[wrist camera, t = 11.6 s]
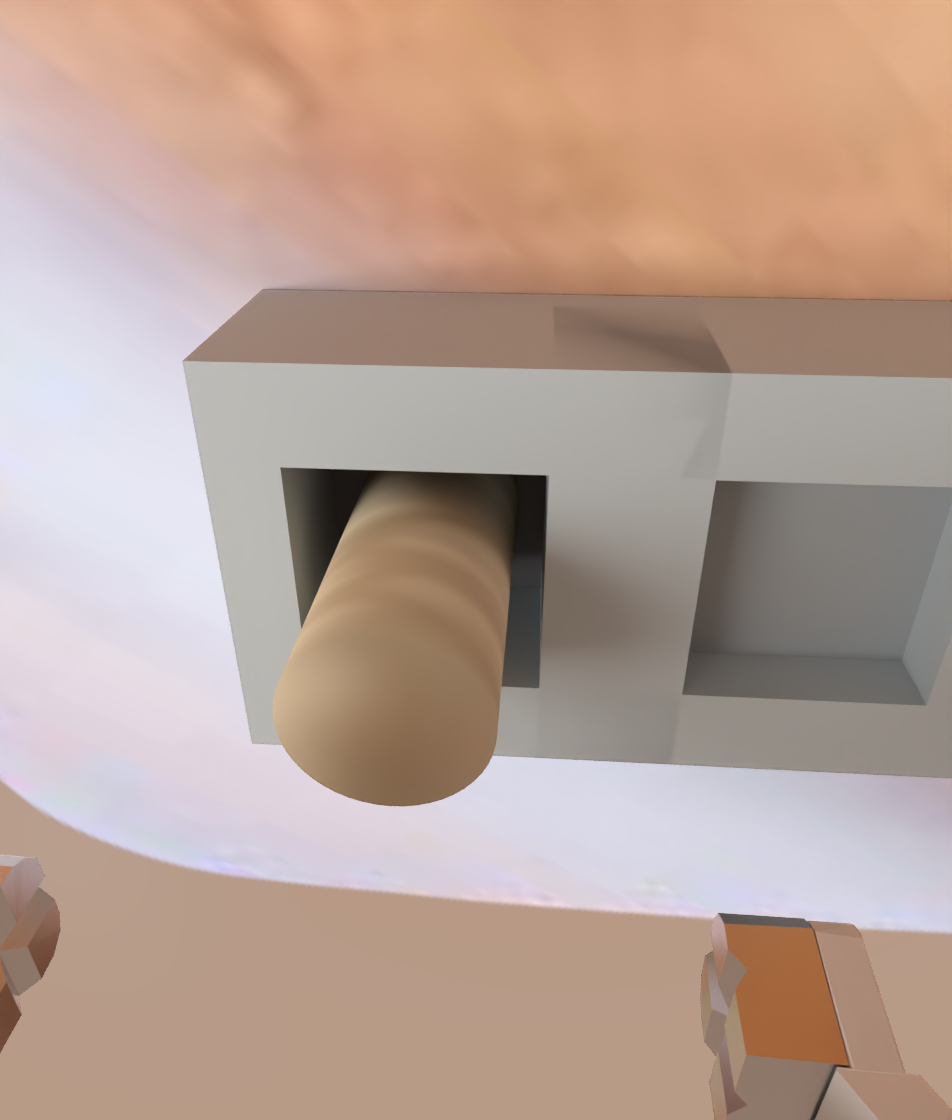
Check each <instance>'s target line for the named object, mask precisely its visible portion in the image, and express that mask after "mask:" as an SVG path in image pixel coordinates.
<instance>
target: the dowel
mask: <svg viewBox="0 0 952 1120" xmlns="http://www.w3.org/2000/svg"><path fill="white" fill-rule="evenodd" d="M517 508H518V488H517V483H516V480H515V477H514V474H485V473H451V472H417V471H384V470H370V472H369V474H368V477H367V479H366V481H365V484H364V486H363V488H362V491H361V493H360V495H359V498H358V500H357V502H356V504H355V507H354V509H353V511H352V514H351V516H350V518H349V521H348V523H347V525H346V527H345V530H344V532H343V534H342V537H341V539H340V541H339V544H338V546H337V548H336V551H335V553H334V555H333V557H332V560H331V562H330V564H329V567H328V569H327V571H326V574H325V576H324V578H323V581H322V583H321V585H320V587H319V590H318V592H317V594H316V597H315V599H314V601H313V604H312V606H311V608H310V611H309V613H308V615H307V617H306V620H305V622H304V624H303V627H302V629H301V631H300V634H299V636H298V638H297V640H296V643H295V645H294V647H293V650H292V652H291V654H290V657H289V659H288V661H287V664H286V666H285V668H284V670H283V673H282V675H281V677H280V680H279V682H278V684H277V687H276V690H275V694H274V698H273V707H272V709H273V720H274V725H275V729H276V732H277V734H278V737H279V739H280V742H281V743H282V745H283V747H284V748H285V750H286V752H287V753H288V754H289V756H290V757H291V758H292V760H293V761H294V762H295V763H296V764H297V765H298V766H299V767H300V768H301V769H302V770H303V771H304V772H305V773H307V774H308V775H309V776H310V777H312V778H313V779H314V780H316V781H317V782H319V783H320V784H322V785H323V786H325V787H327V788H329V789H331V790H333V791H335V792H337V793H339V794H342V795H344V796H347V797H349V798H352V799H356V800H359V801H362V802H367V803H372V804H377V805H386V806H413V805H421V804H426V803H431V802H435V801H438V800H441V799H444V798H446V797H449V796H451V795H454V794H455V793H457V792H459V791H461V790H462V789H464V788H466V787H467V786H468V785H470V784H471V783H472V782H473V781H474V780H475V779H476V778H477V777H478V776H479V775H480V774H481V773H482V772H483V771H484V769H485V768H486V766H487V765H488V763H489V761H490V759H491V757H492V755H493V753H494V749H495V746H496V740H497V730H498V719H499V708H500V697H501V686H502V675H503V664H504V653H505V642H506V630H507V619H508V608H509V597H510V586H511V575H512V564H513V553H514V542H515V530H516V519H517Z"/></svg>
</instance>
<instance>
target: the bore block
mask: <svg viewBox="0 0 952 1120" xmlns="http://www.w3.org/2000/svg"><path fill="white" fill-rule="evenodd" d="M183 366H184V372H185V377H186V383H187V388H188V394H189V399H190V405H191V410H192V416H193V421H194V427H195V432H196V438H197V443H198V449H199V454H200V460H201V465H202V471H203V476H204V482H205V487H206V493H207V498H208V504H209V509H210V515H211V520H212V526H213V531H214V537H215V542H216V548H217V553H218V559H219V564H220V570H221V575H222V581H223V587H224V592H225V598H226V603H227V609H228V614H229V620H230V625H231V631H232V636H233V642H234V647H235V653H236V658H237V664H238V669H239V675H240V680H241V686H242V691H243V697H244V702H245V708H246V713H247V719H248V724H249V730H250V735H251V741H252V744H272V745H282V743H281V742H280V739H279V737H278V734H277V732H276V729H275V725H274V720H273V709H272V707H273V698H274V694H275V690H276V687H277V684H278V682H279V680H280V677H281V675H282V673H283V670H284V668H285V666H286V664H287V661H288V659H289V657H290V654H291V652H292V650H293V647H294V645H295V643H296V640H297V638H298V636H299V634H300V631H301V629H302V627H303V624H304V622H305V620H306V617H307V615H308V613H309V611H310V608H311V606H312V604H313V601H314V599H315V597H316V594H317V592H318V590H319V587H320V585H321V583H322V581H323V578H324V576H325V574H326V571H327V569H328V567H329V564H330V562H331V560H332V557H333V555H334V553H335V551H336V548H337V546H338V544H339V541H340V539H341V537H342V534H343V532H344V530H345V527H346V525H347V523H348V521H349V518H350V516H351V514H352V511H353V509H354V507H355V504H356V502H357V500H358V498H359V495H360V493H361V491H362V488H363V486H364V484H365V481H366V479H367V477H368V474H369V472H370V470H384V471H417V472H451V473H485V474H514V477H515V480H516V483H517V488H518V508H517V519H516V530H515V542H514V553H513V564H512V575H511V586H510V597H509V608H508V619H507V630H506V642H505V653H504V664H503V675H502V686H501V697H500V708H499V719H498V730H497V740H496V746H495V749H494V753H493V756H513V757H533V758H553V759H573V760H593V761H613V762H634V763H654V764H674V765H694V766H714V767H734V768H754V769H774V770H794V771H815V772H835V773H855V774H875V775H895V776H915V777H935V778H952V301H917V300H859V299H800V298H741V297H683V296H624V295H566V294H507V293H448V292H390V291H331V290H272V289H262V290H261V291H260V292H259V293H258V294H257V295H256V296H255V297H254V298H252V299H251V300H250V301H249V302H248V303H247V304H246V305H245V306H243V307H242V308H241V309H240V310H239V311H238V312H237V313H236V314H235V315H233V316H232V317H231V318H230V319H229V320H228V321H227V322H226V323H225V324H223V325H222V326H221V327H220V328H219V329H218V330H217V331H216V332H214V333H213V334H212V335H211V336H210V337H209V338H208V339H207V340H206V341H204V342H203V343H202V344H201V345H200V346H199V347H198V348H197V349H195V350H194V351H193V352H192V353H191V354H190V355H189V356H188V357H187V358H185V359H184V360H183Z"/></svg>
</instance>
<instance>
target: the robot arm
mask: <svg viewBox="0 0 952 1120" xmlns="http://www.w3.org/2000/svg"><path fill="white" fill-rule="evenodd" d="M44 877H45V874H44V872H43V870H42V868H41V866H40V864H39V862H38V860H37V858H31V857H21V856H12V855H2V854H0V1052H1V1051H2V1049H3V1047H4V1045H5V1044H6V1042H7V1040H8V1038H9V1036H10V1035H11V1033H12V1031H13V1029H14V1027H15V1026H16V1024H17V1022H18V1020H19V1019H20V1017H21V1006H20V998H19V995H20V994H22V993H23V992H24V991H26V990H27V989H28V988H30V987H31V986H32V985H34V984H35V983H36V982H38V981H39V980H40V979H42V977H43V975H44V973H45V971H46V969H47V967H48V966H49V963H50V961H51V960H52V958H53V956H54V953H55V949H56V945H57V941H58V937H59V933H60V912H59V910H58V907H57V904H56V902H55V900H54V899H53V898H52V897H51V896H50V895H48V894H47V893H46V892H44V891H43V890H42V889H41V888H39V885H40V883H41V882H42V880H43V878H44ZM711 938H712V945H713V951H712V952H710V953H709V954H707V955H706V956H705V959H704V964H703V969H702V974H701V976H702V977H701V994H700V1001H701V1017H702V1025H703V1026H702V1027H703V1035H704V1042H705V1043H706V1044H707V1046H708V1047H709V1048H710V1049H711V1051H712V1052H713V1053H714V1054H715V1056H716V1059H715V1063H714V1067H713V1071H712V1074H711V1078H710V1090H711V1097H712V1104H713V1112H714V1119H715V1120H952V1109H951V1108H950V1107H949V1106H948V1105H947V1104H946V1103H945V1101H944V1100H943V1099H942V1098H941V1097H940V1096H939V1095H938V1094H937V1093H936V1092H935V1091H934V1090H933V1089H932V1087H931V1086H930V1085H929V1084H928V1083H927V1082H926V1081H925V1080H924V1079H923V1078H922V1077H921V1076H920V1075H915V1074H908V1073H905V1069H904V1066H903V1063H902V1060H901V1057H900V1054H899V1051H898V1048H897V1044H896V1041H895V1038H894V1035H893V1032H892V1029H891V1026H890V1023H889V1020H888V1016H887V1013H886V1010H885V1007H884V1004H883V1001H882V998H881V995H880V991H879V988H878V985H877V982H876V979H875V976H874V973H873V970H872V967H871V964H870V960H869V957H868V954H867V951H866V948H865V945H864V942H863V939H862V936H861V933H860V932H859V931H858V929H857V928H856V927H855V926H854V925H853V924H849V923H836V922H819V921H805V920H804V919H799V918H784V917H769V916H754V915H739V914H724V913H718V914H717V915H716V917H715V918H714V921H713V925H712V929H711Z"/></svg>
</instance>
